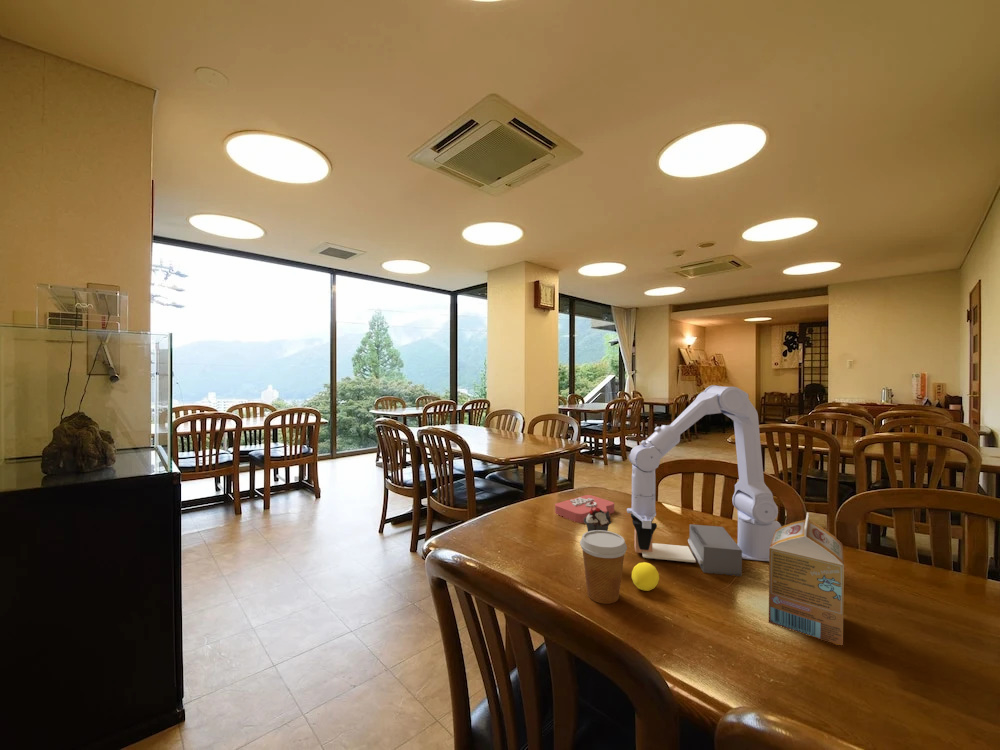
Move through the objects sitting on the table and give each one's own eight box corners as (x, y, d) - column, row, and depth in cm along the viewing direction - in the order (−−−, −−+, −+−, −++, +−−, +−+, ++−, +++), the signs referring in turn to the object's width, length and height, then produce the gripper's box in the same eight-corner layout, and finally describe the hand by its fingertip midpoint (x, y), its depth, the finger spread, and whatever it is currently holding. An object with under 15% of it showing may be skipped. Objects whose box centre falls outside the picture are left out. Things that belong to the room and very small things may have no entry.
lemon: (649, 601, 83) (647, 576, 83) (626, 590, 87) (624, 567, 87) (666, 585, 88) (664, 561, 87) (643, 575, 92) (641, 553, 91)
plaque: (587, 515, 121) (552, 502, 133) (587, 528, 121) (552, 514, 133) (624, 503, 132) (588, 492, 144) (624, 515, 132) (588, 503, 144)
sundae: (580, 564, 98) (580, 502, 98) (587, 553, 104) (587, 495, 104) (607, 570, 95) (607, 507, 95) (613, 558, 101) (614, 498, 101)
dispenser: (722, 549, 106) (722, 526, 106) (741, 576, 92) (741, 550, 92) (687, 546, 108) (687, 524, 108) (700, 572, 94) (700, 546, 94)
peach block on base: (688, 548, 105) (688, 529, 105) (695, 562, 97) (695, 541, 97) (633, 543, 108) (633, 524, 108) (636, 556, 100) (636, 536, 100)
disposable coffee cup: (621, 584, 89) (621, 530, 89) (631, 610, 79) (631, 549, 79) (577, 582, 90) (577, 528, 90) (582, 607, 80) (582, 547, 80)
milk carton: (774, 597, 84) (775, 506, 83) (841, 617, 77) (842, 518, 77) (768, 622, 75) (769, 521, 75) (842, 647, 69) (844, 536, 68)
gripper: (624, 484, 111) (624, 533, 112) (629, 501, 97) (629, 557, 97) (652, 486, 110) (651, 535, 110) (660, 503, 96) (660, 560, 96)
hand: (643, 546), depth 104 cm, fingers closed on peach block on base, 3 cm apart
